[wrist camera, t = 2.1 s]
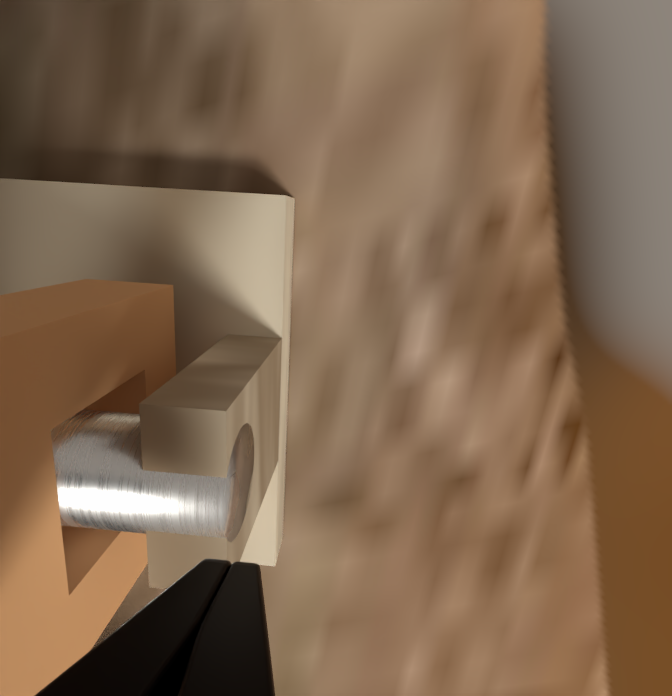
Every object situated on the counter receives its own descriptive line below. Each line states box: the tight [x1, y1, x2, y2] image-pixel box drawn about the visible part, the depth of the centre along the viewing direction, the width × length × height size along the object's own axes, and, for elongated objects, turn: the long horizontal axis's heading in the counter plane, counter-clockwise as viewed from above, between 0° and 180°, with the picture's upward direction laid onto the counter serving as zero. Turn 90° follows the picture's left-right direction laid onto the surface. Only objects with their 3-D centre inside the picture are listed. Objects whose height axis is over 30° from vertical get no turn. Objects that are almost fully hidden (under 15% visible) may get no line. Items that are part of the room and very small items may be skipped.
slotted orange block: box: [0, 279, 176, 696], centre depth 10 cm, size 2×7×8 cm, turn 177°
